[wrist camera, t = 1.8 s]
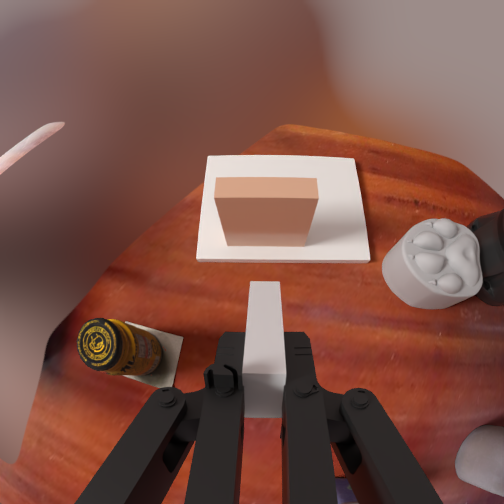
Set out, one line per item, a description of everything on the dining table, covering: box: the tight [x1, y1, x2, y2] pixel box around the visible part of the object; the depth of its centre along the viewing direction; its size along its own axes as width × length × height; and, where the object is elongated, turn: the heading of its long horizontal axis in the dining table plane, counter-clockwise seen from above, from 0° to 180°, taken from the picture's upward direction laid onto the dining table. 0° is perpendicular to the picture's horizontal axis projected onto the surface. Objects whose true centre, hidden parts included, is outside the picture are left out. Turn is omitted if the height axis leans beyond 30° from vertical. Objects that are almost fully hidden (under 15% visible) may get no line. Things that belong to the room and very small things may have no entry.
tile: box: [214, 177, 319, 247], centre depth 35 cm, size 10×3×12 cm, turn 89°
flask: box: [335, 477, 359, 504], centre depth 23 cm, size 9×3×11 cm, turn 71°
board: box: [196, 155, 370, 263], centre depth 43 cm, size 23×17×1 cm
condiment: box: [77, 318, 183, 388], centre depth 30 cm, size 7×8×12 cm
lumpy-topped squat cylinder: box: [382, 218, 483, 309], centre depth 35 cm, size 10×13×9 cm
